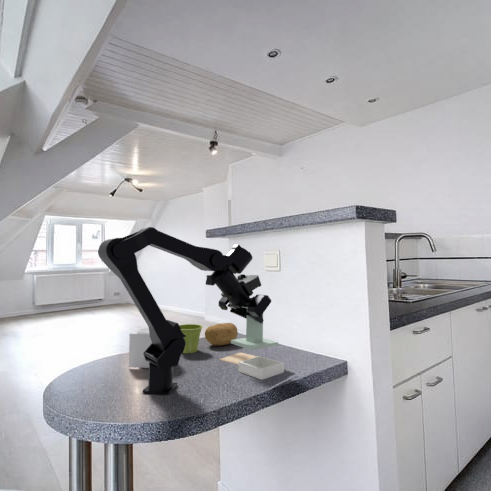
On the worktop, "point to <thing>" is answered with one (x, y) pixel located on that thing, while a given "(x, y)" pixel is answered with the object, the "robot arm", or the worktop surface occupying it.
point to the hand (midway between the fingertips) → (258, 321)
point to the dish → (261, 367)
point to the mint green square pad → (238, 358)
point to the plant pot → (191, 337)
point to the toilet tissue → (139, 348)
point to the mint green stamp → (254, 336)
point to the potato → (221, 334)
